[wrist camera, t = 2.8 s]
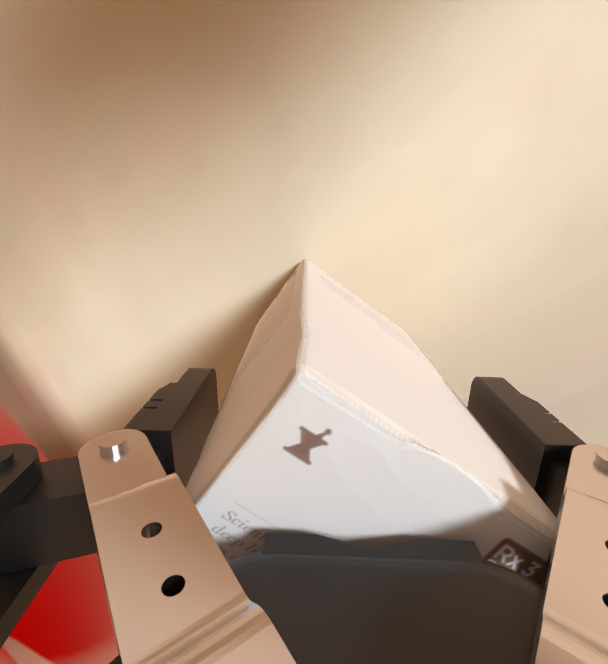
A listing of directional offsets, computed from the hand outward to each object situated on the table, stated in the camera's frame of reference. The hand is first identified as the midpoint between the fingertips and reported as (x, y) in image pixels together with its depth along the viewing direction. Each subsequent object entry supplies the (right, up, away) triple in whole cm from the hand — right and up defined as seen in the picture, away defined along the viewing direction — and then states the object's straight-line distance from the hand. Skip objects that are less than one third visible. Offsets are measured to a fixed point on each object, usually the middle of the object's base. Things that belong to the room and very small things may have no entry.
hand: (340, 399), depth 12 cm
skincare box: (0, +2, +6) cm, 7 cm away
